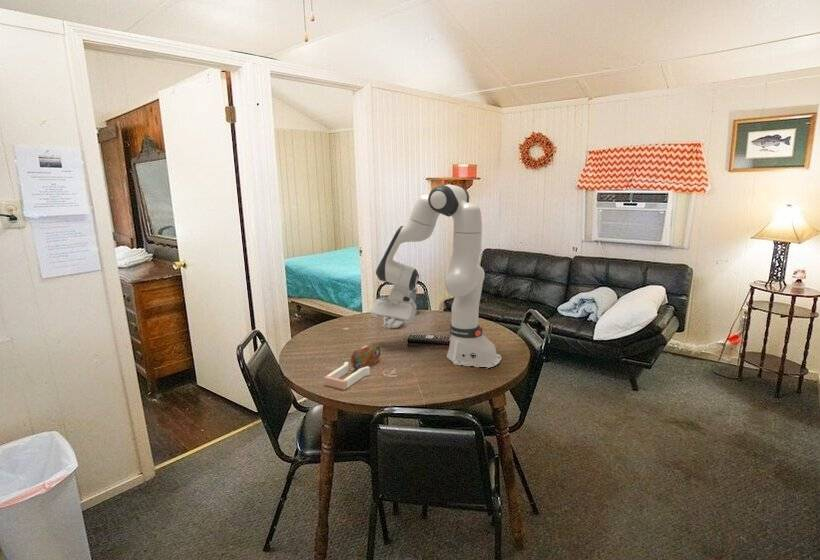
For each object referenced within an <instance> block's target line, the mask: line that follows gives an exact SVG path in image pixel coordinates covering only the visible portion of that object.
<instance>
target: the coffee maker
mask: <svg viewBox="0 0 820 560" xmlns="http://www.w3.org/2000/svg"><path fill="white" fill-rule="evenodd" d="M417 294H418V287H415V289H413V290H412V291H411V292H410V295H409V298H411V299H412V300H413V301H414V302H415V303H416V299H417ZM417 314H418V313H417V308H416V309H415V316H416V315H417Z"/></svg>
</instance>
